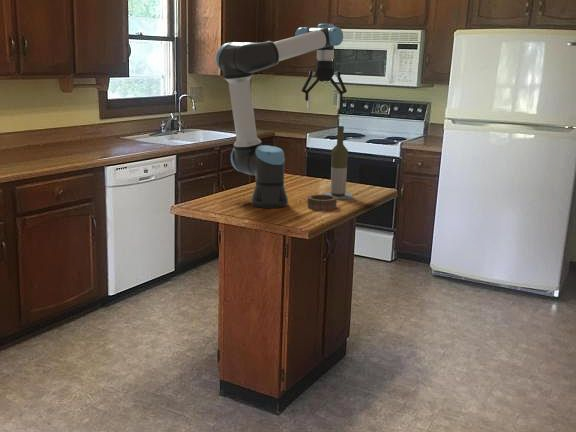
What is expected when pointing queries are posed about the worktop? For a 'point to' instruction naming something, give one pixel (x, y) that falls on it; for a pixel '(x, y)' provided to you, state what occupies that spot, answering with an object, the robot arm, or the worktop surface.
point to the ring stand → (322, 202)
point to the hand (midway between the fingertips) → (323, 108)
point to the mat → (344, 197)
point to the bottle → (339, 165)
